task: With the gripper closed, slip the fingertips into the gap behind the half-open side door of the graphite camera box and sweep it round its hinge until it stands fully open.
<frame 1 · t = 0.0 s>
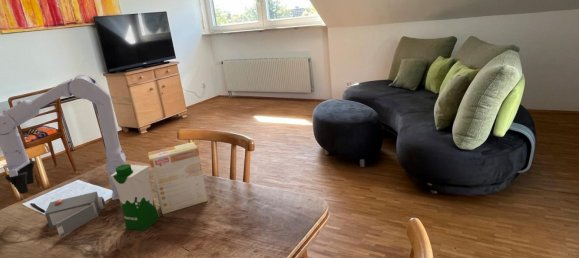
hand: (27, 188, 122), 10 cm above the table, tool pointing down, fingers open, 7 cm apart
milk carton: (143, 223, 113), on the table
camera box: (76, 216, 121), on the table
coffeecake box: (183, 204, 123), on the table
side door: (78, 219, 113), point 3 cm above the table, hinge at 40.0°
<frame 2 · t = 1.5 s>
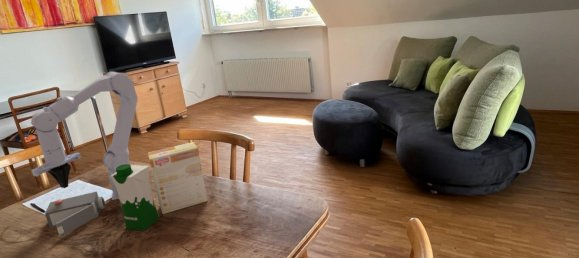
hand: (64, 186, 120), 10 cm above the table, tool pointing down, fingers closed
nothing on the table moved.
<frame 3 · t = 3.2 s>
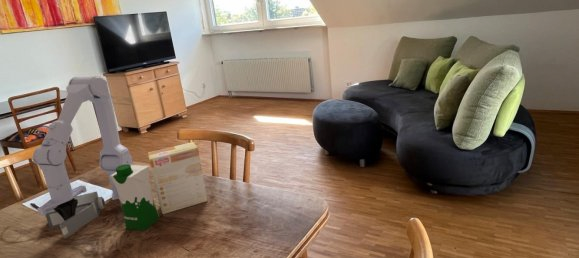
hand: (71, 223, 112), 2 cm above the table, tool pointing down, fingers closed, pressing on side door
side door: (80, 220, 113), point 3 cm above the table, hinge at 49.1°, touching gripper
everything else where it was.
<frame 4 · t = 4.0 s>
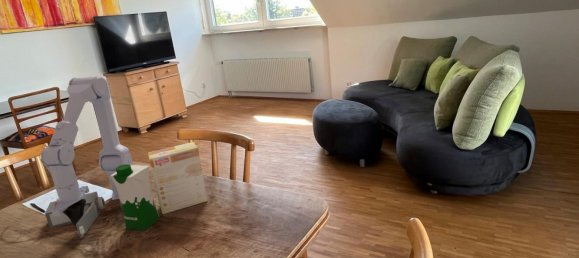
hand: (79, 224, 111), 2 cm above the table, tool pointing down, fingers closed
side door: (88, 219, 113), point 3 cm above the table, hinge at 74.8°, touching gripper
everything else where it was.
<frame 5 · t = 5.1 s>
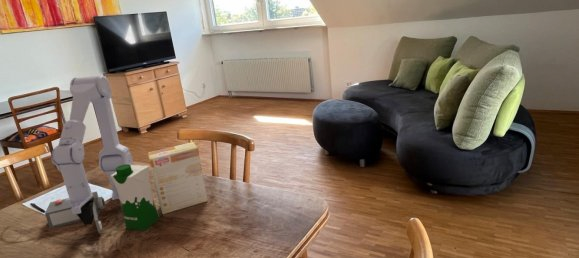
hand: (88, 223, 111), 2 cm above the table, tool pointing down, fingers closed
side door: (97, 217, 113), point 3 cm above the table, hinge at 99.3°, touching gripper
everything else where it was.
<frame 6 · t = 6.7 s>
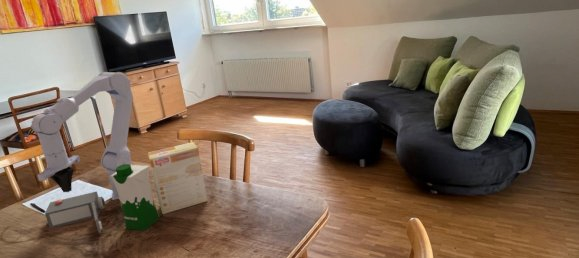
hand: (67, 191, 117), 10 cm above the table, tool pointing down, fingers closed
side door: (97, 217, 113), point 3 cm above the table, hinge at 99.4°
everything else where it was.
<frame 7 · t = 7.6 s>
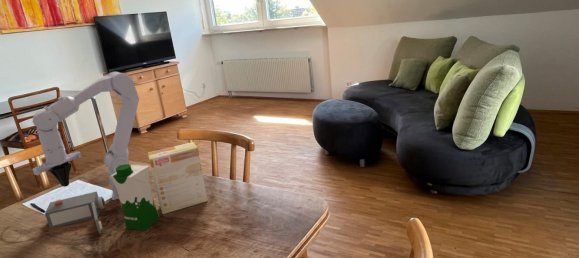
hand: (65, 185, 121), 10 cm above the table, tool pointing down, fingers closed
nothing on the table moved.
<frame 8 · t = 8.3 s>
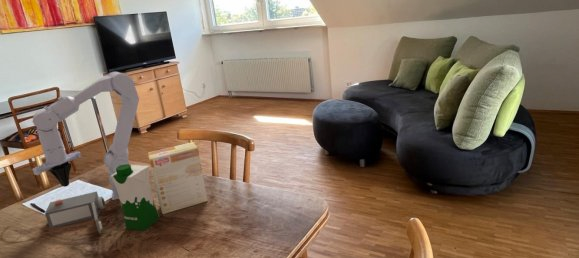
hand: (65, 185, 121), 10 cm above the table, tool pointing down, fingers closed
nothing on the table moved.
at the end: side door at +99° (first picture: +40°) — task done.
